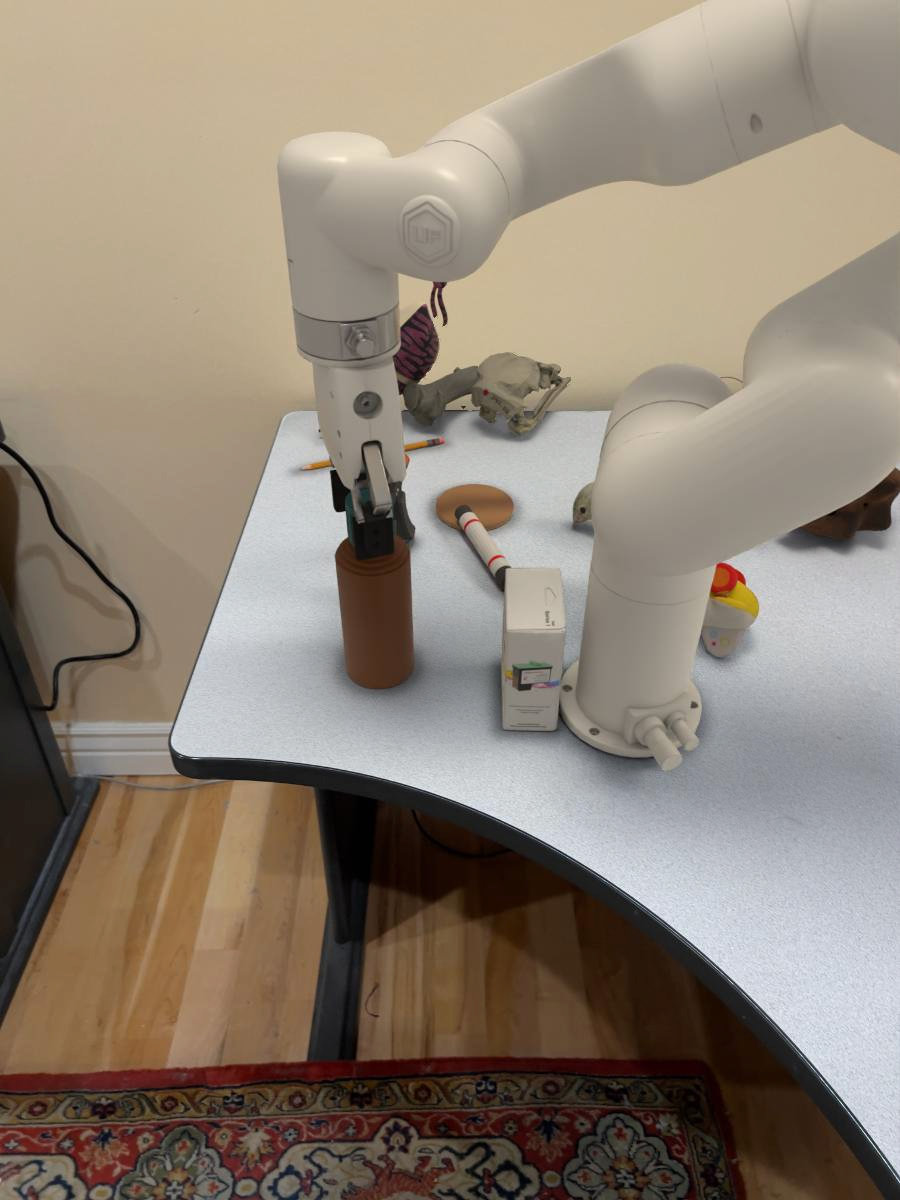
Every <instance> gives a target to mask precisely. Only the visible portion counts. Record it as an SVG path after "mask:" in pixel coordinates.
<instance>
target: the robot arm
mask: <svg viewBox="0 0 900 1200" xmlns="http://www.w3.org/2000/svg"><path fill="white" fill-rule="evenodd" d="M840 125H844V126H845V127H846V128H848V129H849V130H850V131H852V132H853V133H855V134H857V135H859V136H860V137H863V138H865V139H866V140H868V141H870V142H872V143H874V144H876V145H878V146H881V147H882V148H885V149H886V150H889V151H890V152H893V153H895V154H897V155H899V156H900V0H705V1H703V2H700V3H698V4H697V5H695V6H692V7H690V8H688V9H686V10H685V11H682V12H680V13H678V14H676V15H674V16H671V17H669V18H667V19H665V20H663V21H661V22H658V23H656V24H654V25H652V26H650V27H648V28H646V29H644V30H642V31H640V32H638V33H636V34H633V35H631V36H629V37H626V38H623V39H622V40H620V41H618V42H616V43H614V44H612V45H610V46H608V47H607V48H605V49H603V50H601V51H599V52H598V53H596V54H594V55H592V56H590V57H588V58H585V59H583V60H580V61H578V62H575V63H574V64H572V65H569V66H567V67H564V68H562V69H560V70H558V71H556V72H554V73H551V74H549V75H547V76H545V77H542V78H540V79H538V80H536V81H534V82H532V83H529V84H528V85H526V86H525V85H524V86H523V87H521V88H520V89H518V90H515V91H513V92H511V93H509V94H507V95H505V96H503V97H501V98H499V99H497V100H495V101H494V100H493V102H490V103H488V104H486V105H484V106H482V107H480V108H477V109H476V110H474V111H472V112H470V113H468V114H466V115H463V116H462V117H460V118H458V119H456V120H454V121H453V122H451V123H449V124H448V125H446V126H445V127H443V128H442V129H440V130H439V131H438V132H437V133H435V134H434V135H433V136H432V137H430V138H429V139H428V140H427V141H426V142H425V143H424V144H422V146H420V148H419V149H417V150H414V151H412V152H409V153H407V154H404V155H402V156H398V157H393V156H392V154H391V151H390V150H389V147H388V146H387V145H386V144H385V143H384V142H383V141H381V140H380V139H378V138H377V137H374V136H372V135H368V134H365V133H362V132H361V133H360V132H353V131H335V130H334V131H323V132H314V133H313V132H312V133H308V134H303V135H301V136H299V137H296V138H294V139H291V140H289V141H288V142H287V143H286V144H285V145H284V146H283V147H282V149H281V150H280V152H279V154H278V159H277V164H276V165H277V166H276V168H277V169H276V171H277V182H278V191H279V193H278V194H279V201H280V208H281V209H280V210H281V219H282V220H281V221H282V229H283V237H284V244H285V245H284V246H285V254H286V262H287V273H288V280H289V288H290V289H289V290H290V298H291V307H292V316H293V323H294V333H295V341H296V351H297V353H298V354H299V356H300V357H301V358H302V359H304V360H306V361H307V362H309V363H312V377H313V389H314V399H315V408H316V416H317V422H318V427H319V429H320V432H319V433H320V436H321V439H322V442H323V444H324V447H325V449H326V451H327V453H328V457H329V459H328V460H330V464H331V466H330V467H331V470H329V475H330V477H329V478H330V487H331V497H332V507H333V510H334V511H335V513H346V510H345V499H346V496H347V495H348V494H349V493H350V492H351V494H352V500H353V506H354V512H355V516H354V517H351V521H352V533H353V545H354V555H355V557H356V559H357V560H358V561H362V560H367V559H372V558H377V557H382V556H386V555H391V554H392V553H393V552H394V535H393V513H392V498H391V494H390V490H389V486H388V481H387V475H386V469H387V471H388V473H389V475H390V476H391V478H392V480H393V482H397V481H398V482H402V483H403V482H404V481H405V479H406V477H407V469H406V462H405V454H406V452H405V451H406V450H404V445H405V439H404V427H403V418H402V407H401V397H400V395H399V390H398V383H397V377H396V371H395V366H394V362H393V357H392V356H393V355H395V354H396V353H397V352H398V350H399V349H400V346H401V337H400V291H399V290H400V286H399V283H400V282H399V274H401V275H403V276H406V277H410V278H413V279H418V280H422V281H427V282H432V283H433V282H447V283H450V282H455V281H459V280H462V279H465V278H467V277H468V276H469V277H470V276H471V275H473V274H474V273H475V272H476V271H478V270H479V269H480V268H481V267H482V266H483V265H484V264H485V262H487V260H488V259H489V258H490V255H491V254H492V252H493V251H494V249H495V248H496V246H497V245H498V243H499V241H500V240H501V238H502V236H503V235H504V233H505V231H506V230H507V228H508V226H509V225H510V223H511V222H512V221H514V220H517V219H518V218H520V217H522V216H524V215H527V214H529V213H532V212H533V211H534V212H535V211H537V210H539V209H541V208H543V207H545V206H548V205H550V204H552V203H555V202H557V201H560V200H562V199H565V198H568V197H570V196H572V195H575V194H578V193H581V192H583V191H586V190H589V189H593V188H596V187H599V186H603V185H608V184H612V183H620V182H641V183H646V184H650V185H654V186H659V187H681V186H682V187H683V186H688V185H692V184H695V183H697V182H700V181H703V180H705V179H707V178H710V177H712V176H715V175H718V174H719V173H722V172H724V171H727V170H729V169H731V168H734V167H737V166H740V165H742V164H743V163H746V162H748V161H751V160H754V159H757V158H759V157H761V156H764V155H766V154H768V153H771V152H774V151H776V150H778V149H781V148H784V147H786V146H789V145H791V144H794V143H796V142H798V141H801V140H803V139H806V138H809V137H811V136H813V135H816V134H820V133H822V132H824V131H827V130H830V129H833V128H835V127H838V126H840ZM747 339H748V340H747V342H746V346H745V350H744V354H743V359H742V360H743V362H742V382H743V383H742V389H740V390H738V391H737V392H735V393H733V391H732V390H731V389H730V387H729V386H728V385H727V383H726V382H725V381H724V380H723V378H721V377H720V376H719V375H717V374H716V373H715V372H712V371H711V370H709V369H707V368H705V367H703V366H700V365H697V364H694V363H693V364H692V363H687V362H670V363H664V364H659V365H657V366H654V367H652V368H650V369H647V370H646V371H644V372H642V373H640V374H639V375H638V376H636V377H635V378H634V379H632V381H630V382H629V383H628V384H627V385H626V386H625V388H624V389H623V390H622V392H620V394H619V396H618V397H617V399H616V401H615V402H614V404H613V407H612V409H611V411H610V414H609V417H608V418H607V423H606V427H605V432H604V435H603V439H602V443H601V447H600V453H599V461H598V465H597V469H596V473H595V478H594V481H593V482H594V486H593V492H592V501H591V516H592V520H591V522H592V527H593V530H594V536H593V543H592V552H591V560H590V566H589V574H588V582H587V591H586V599H585V606H584V607H585V608H584V614H583V615H584V616H583V625H582V633H581V642H580V651H579V658H578V659H577V660H575V662H573V663H572V664H570V665H569V667H568V668H567V669H565V671H564V672H563V673H562V676H561V686H560V697H559V709H558V713H559V714H560V716H561V718H562V720H563V722H564V724H565V725H566V726H567V727H568V729H569V730H570V731H571V732H572V733H573V734H574V735H575V736H576V737H578V738H579V739H580V740H581V741H583V742H585V743H587V745H589V746H591V747H593V748H595V749H598V750H600V751H601V752H605V753H608V754H611V755H615V756H618V757H627V758H651V757H653V758H654V759H655V761H656V763H657V764H658V766H659V767H660V768H661V770H662V771H664V772H672V771H674V770H676V769H677V768H678V767H680V766H681V764H682V762H683V760H684V758H683V755H682V753H680V751H679V750H678V749H680V748H681V747H683V749H684V750H685V751H687V752H689V751H693V750H694V749H696V748H697V747H698V746H699V744H700V739H699V738H698V736H697V735H696V734H695V733H696V732H697V729H698V727H699V724H700V720H701V715H702V711H703V708H702V707H703V706H702V699H701V696H700V693H699V690H698V688H697V687H696V684H695V683H694V682H693V681H692V679H691V677H692V673H693V669H694V664H695V661H696V660H695V659H696V656H697V651H698V648H699V642H700V638H701V630H702V625H703V621H704V616H705V612H706V607H707V603H708V599H709V594H710V590H711V585H712V582H713V579H714V574H715V570H716V565H717V564H718V563H721V562H722V563H724V562H725V561H728V560H730V559H732V558H734V557H737V556H739V555H741V554H743V553H745V552H748V551H750V550H753V549H754V548H757V547H759V546H761V545H764V544H765V543H768V542H770V541H772V540H774V539H776V538H778V537H781V536H783V535H785V534H787V533H790V532H792V531H794V530H796V529H798V528H800V527H801V526H803V525H805V524H807V523H809V522H811V521H813V520H816V519H818V518H820V517H822V516H824V515H826V514H829V513H831V512H833V511H835V510H837V509H839V508H841V507H843V506H845V505H847V504H849V503H851V502H852V501H854V500H856V499H858V498H859V497H861V496H863V495H864V494H866V493H867V492H868V491H870V490H871V489H873V488H874V487H875V486H876V485H877V484H879V483H880V482H881V481H882V480H883V479H884V478H886V477H887V476H888V475H889V474H890V473H891V472H892V471H893V469H894V468H895V467H896V468H897V466H898V465H899V464H900V230H899V231H898V232H896V233H895V234H894V235H892V236H891V237H889V238H887V239H885V240H884V241H882V242H881V243H879V244H877V245H876V246H874V247H871V249H869V250H867V251H866V252H864V253H862V254H860V255H859V256H858V257H856V258H854V259H852V260H851V261H849V262H847V263H845V264H844V265H842V266H841V267H839V268H837V269H835V270H834V271H832V272H831V273H829V274H828V275H826V276H824V277H823V278H820V279H819V280H818V281H816V282H814V283H813V284H810V285H809V286H807V287H805V288H804V289H802V290H800V291H798V292H797V293H795V294H793V295H791V296H790V297H788V298H787V299H785V300H783V301H781V302H780V303H779V304H777V305H775V306H774V307H773V308H772V309H770V310H769V311H768V312H767V313H766V314H764V316H763V317H762V318H760V319H759V321H758V322H757V323H756V325H755V326H754V328H753V329H752V330H751V333H750V335H749V337H748V338H747ZM385 467H386V468H385ZM364 489H370V500H369V501H366V502H365V503H364V505H363V504H362V498H361V492H360V490H364Z"/></svg>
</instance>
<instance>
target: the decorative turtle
mask: <svg viewBox="0 0 900 1200" xmlns="http://www.w3.org/2000/svg"><path fill="white" fill-rule="evenodd" d="M899 494H900V469H899V468H897V466H896V467H895V468H894V469H893V471H892V472H891V473H890V474H889V475H888V476H887V477H886V478H884V479H883V480H882V481H881V482H880V483H879V484H877V485H876V486H875V487H874V488H873V489H871V490H870V491H868V492H867V493H866V494H864V495H863V496H861V497H859V498H858V499H856V500H854V501H852V502H851V503H849V504H847V505H845V506H843V507H841V508H839V509H837V510H835V511H833V512H831V513H829V514H826V515H824V516H822V517H820V518H818V519H816V520H813V521H811V522H809V523H807V524H805V525H803V526H800V527H801V528H802V529H803V530H804V531H806V532H808V533H810V534H813V535H816V536H822V537H827V538H832V539H839V540H843V541H850V540H852V539H853V538H854V537H855V535H856V533H857V532H862V531H863V532H883V531H886V530H888V529H889V528H890V527H891V526H892V523H893V522H892V505H893V503H894V502H895V500H896V498H898V496H899Z"/></svg>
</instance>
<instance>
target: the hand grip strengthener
mask: <svg viewBox="0 0 900 1200" xmlns="http://www.w3.org/2000/svg"><path fill="white" fill-rule="evenodd" d="M410 461H411V459H410V457H409V455H408V454H407V453H405V462H406V470H407V469H408V467H409V464H410ZM385 468H386V467H385ZM386 475H387V481H388V486H389V490H390V494H391V495H392V498H393V505H394V524H395V534H396V535H398V536H399V537H401V538H402V539H403V540H404V541H412V540H414V539H415V536H416V530H417V529H416V525H415V524H413V522H412V520H411V518H410V515H409V512H408V508H407V498H406V492H405V490H403V482H398V481H397V482H393V480H392V478H391V476H390V475H389V473H388V471H387V469H386Z"/></svg>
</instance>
